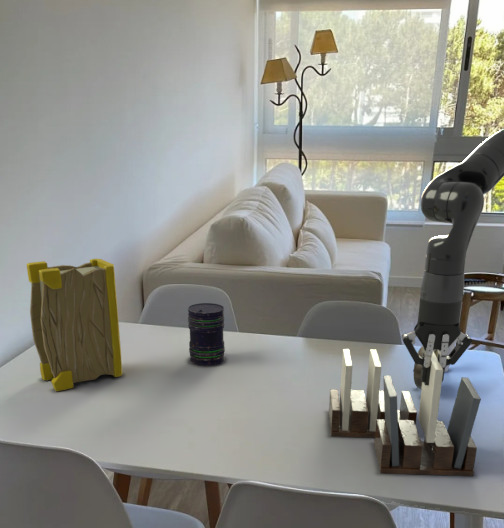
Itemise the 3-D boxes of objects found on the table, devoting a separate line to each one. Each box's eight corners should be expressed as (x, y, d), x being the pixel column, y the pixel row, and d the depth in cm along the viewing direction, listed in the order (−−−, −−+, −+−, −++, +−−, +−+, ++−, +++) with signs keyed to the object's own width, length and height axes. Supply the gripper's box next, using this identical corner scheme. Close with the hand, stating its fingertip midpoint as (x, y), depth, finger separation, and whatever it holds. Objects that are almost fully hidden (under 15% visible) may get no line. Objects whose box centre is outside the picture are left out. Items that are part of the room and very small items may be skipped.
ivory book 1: (345, 410, 164) (349, 348, 157) (348, 430, 154) (352, 365, 147) (339, 410, 164) (342, 348, 157) (341, 430, 154) (345, 365, 147)
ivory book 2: (371, 411, 163) (376, 349, 157) (375, 431, 153) (381, 366, 147) (365, 411, 163) (370, 349, 157) (369, 431, 153) (374, 366, 147)
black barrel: (200, 352, 203) (198, 301, 196) (230, 357, 199) (230, 305, 193) (183, 363, 195) (180, 310, 188) (214, 368, 191) (213, 314, 184)
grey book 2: (450, 443, 148) (468, 377, 141) (461, 469, 138) (481, 399, 132) (443, 443, 148) (461, 376, 141) (453, 468, 138) (473, 398, 132)
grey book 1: (392, 441, 149) (390, 375, 142) (399, 466, 139) (397, 396, 132) (385, 442, 149) (383, 375, 142) (392, 466, 139) (389, 396, 132)
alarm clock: (428, 400, 171) (436, 336, 164) (407, 396, 174) (413, 333, 167) (441, 386, 180) (449, 324, 173) (420, 382, 182) (427, 321, 175)
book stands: (445, 415, 164) (448, 391, 161) (473, 476, 138) (477, 448, 135) (328, 412, 165) (330, 388, 162) (334, 471, 139) (336, 444, 136)
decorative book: (109, 364, 193) (99, 253, 180) (126, 376, 185) (117, 261, 172) (37, 379, 183) (21, 263, 170) (52, 393, 175) (36, 272, 162)
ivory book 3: (425, 419, 146) (432, 350, 139) (434, 442, 136) (443, 369, 129) (418, 419, 146) (425, 349, 139) (427, 442, 136) (435, 369, 130)
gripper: (474, 291, 132) (462, 377, 140) (401, 290, 133) (393, 376, 140) (484, 301, 125) (471, 392, 133) (406, 300, 126) (398, 390, 134)
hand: (431, 383), depth 137 cm, fingers closed on ivory book 3, 1 cm apart
